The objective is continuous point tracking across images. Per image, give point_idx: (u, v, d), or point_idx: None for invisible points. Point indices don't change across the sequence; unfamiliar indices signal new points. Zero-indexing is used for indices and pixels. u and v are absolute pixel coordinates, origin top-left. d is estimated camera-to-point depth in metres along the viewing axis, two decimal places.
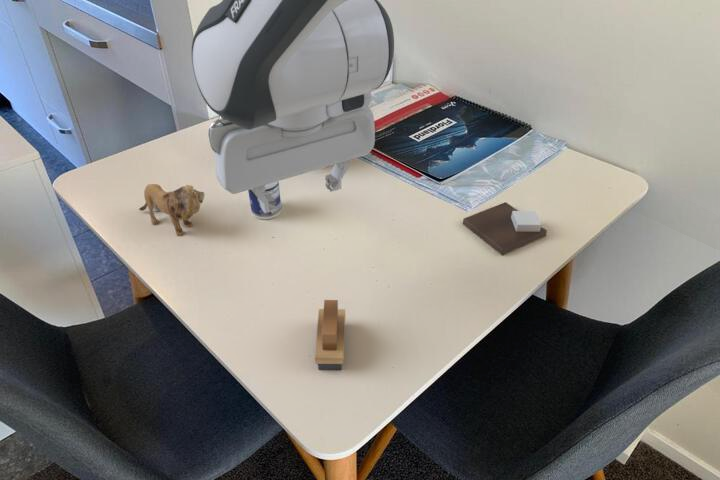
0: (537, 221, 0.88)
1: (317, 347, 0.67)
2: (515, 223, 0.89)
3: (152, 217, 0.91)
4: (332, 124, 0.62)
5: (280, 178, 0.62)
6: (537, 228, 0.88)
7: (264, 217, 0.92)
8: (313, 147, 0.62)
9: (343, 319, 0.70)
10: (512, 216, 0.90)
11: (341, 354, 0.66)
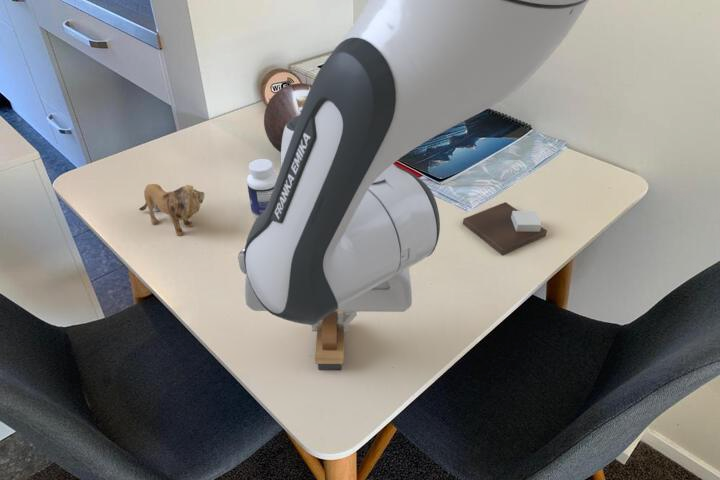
0: (537, 221, 0.88)
1: (317, 347, 0.67)
2: (515, 223, 0.89)
3: (152, 217, 0.91)
4: None
5: None
6: (537, 228, 0.88)
7: None
8: None
9: None
10: (512, 216, 0.90)
11: (341, 354, 0.66)
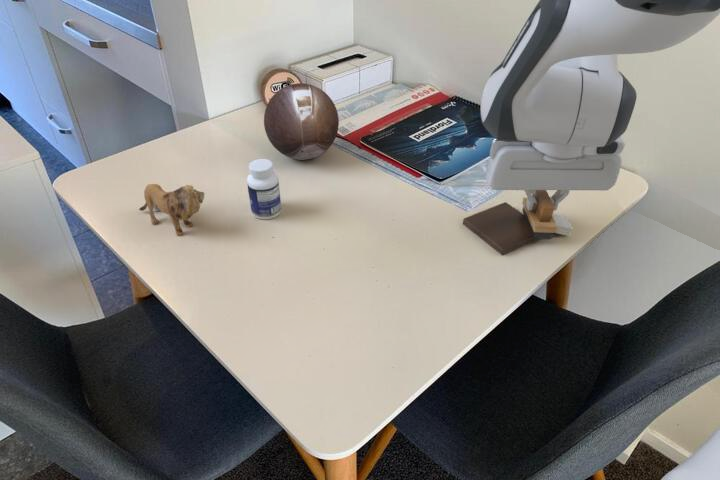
0: (568, 225, 0.89)
1: (534, 220, 0.86)
2: None
3: (152, 217, 0.91)
4: (584, 160, 0.80)
5: (530, 188, 0.83)
6: (568, 232, 0.88)
7: (264, 217, 0.92)
8: (563, 173, 0.81)
9: None
10: None
11: (555, 224, 0.85)
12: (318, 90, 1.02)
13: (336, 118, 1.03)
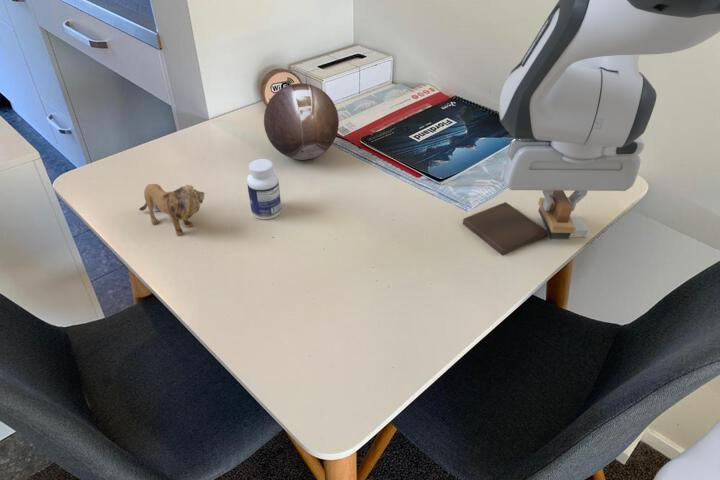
0: (583, 227, 0.89)
1: (552, 220, 0.86)
2: None
3: (152, 217, 0.91)
4: (603, 160, 0.80)
5: (548, 188, 0.83)
6: (584, 234, 0.89)
7: (264, 217, 0.92)
8: (581, 173, 0.81)
9: None
10: None
11: (572, 225, 0.85)
12: (318, 90, 1.02)
13: (336, 118, 1.03)
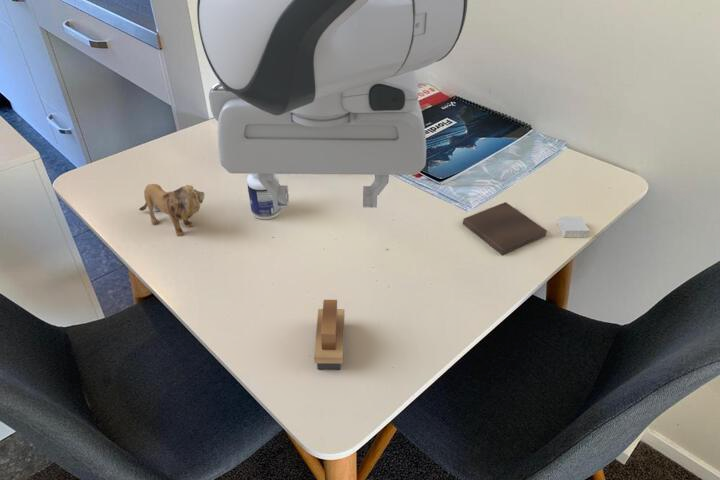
0: (584, 227, 0.89)
1: (316, 347, 0.67)
2: (562, 229, 0.89)
3: (152, 217, 0.91)
4: (361, 123, 0.48)
5: (288, 171, 0.51)
6: (584, 234, 0.89)
7: (264, 217, 0.92)
8: (333, 145, 0.49)
9: (342, 319, 0.70)
10: (558, 222, 0.91)
11: (340, 354, 0.66)
12: None
13: None
